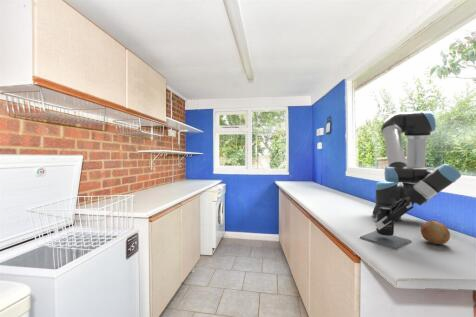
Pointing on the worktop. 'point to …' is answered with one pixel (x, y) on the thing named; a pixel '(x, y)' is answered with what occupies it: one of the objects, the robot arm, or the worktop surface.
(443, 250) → the worktop surface
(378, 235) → the slate tile
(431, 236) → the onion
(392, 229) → the supplement bottle
